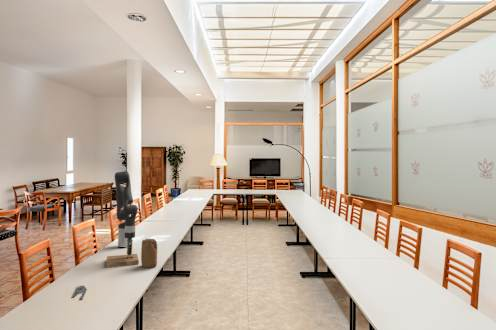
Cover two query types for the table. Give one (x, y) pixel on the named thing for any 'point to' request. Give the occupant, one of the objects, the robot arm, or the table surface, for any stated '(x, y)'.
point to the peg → (127, 253)
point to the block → (149, 253)
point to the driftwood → (79, 291)
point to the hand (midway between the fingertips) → (129, 253)
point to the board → (121, 260)
